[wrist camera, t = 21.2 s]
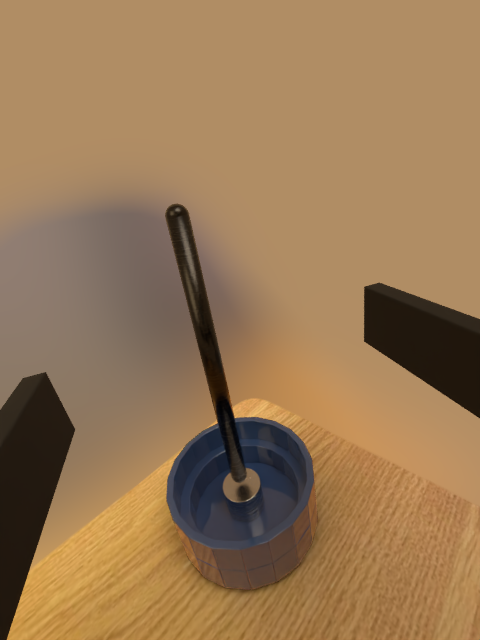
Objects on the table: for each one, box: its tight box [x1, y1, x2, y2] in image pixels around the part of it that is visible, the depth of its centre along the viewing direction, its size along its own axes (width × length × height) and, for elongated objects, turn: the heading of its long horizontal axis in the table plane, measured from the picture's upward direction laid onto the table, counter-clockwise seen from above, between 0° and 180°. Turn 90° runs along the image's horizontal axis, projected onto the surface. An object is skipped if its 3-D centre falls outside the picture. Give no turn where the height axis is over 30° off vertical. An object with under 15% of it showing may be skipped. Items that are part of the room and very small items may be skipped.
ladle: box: [165, 204, 264, 522], centre depth 20 cm, size 3×3×23 cm
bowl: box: [166, 417, 318, 590], centre depth 24 cm, size 11×11×5 cm
